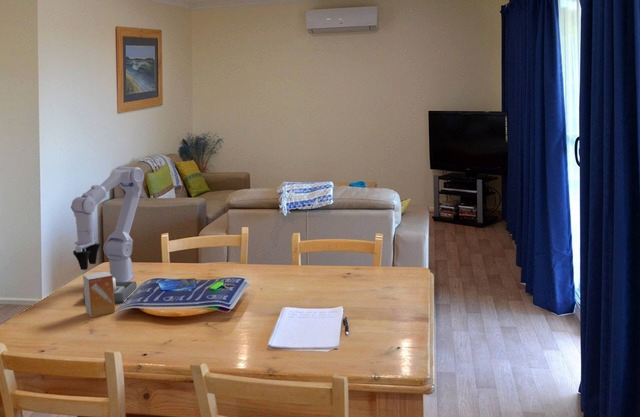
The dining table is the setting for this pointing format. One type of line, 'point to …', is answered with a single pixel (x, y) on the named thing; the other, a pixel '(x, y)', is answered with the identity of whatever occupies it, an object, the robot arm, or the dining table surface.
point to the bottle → (114, 284)
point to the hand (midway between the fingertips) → (88, 266)
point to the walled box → (122, 290)
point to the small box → (99, 294)
